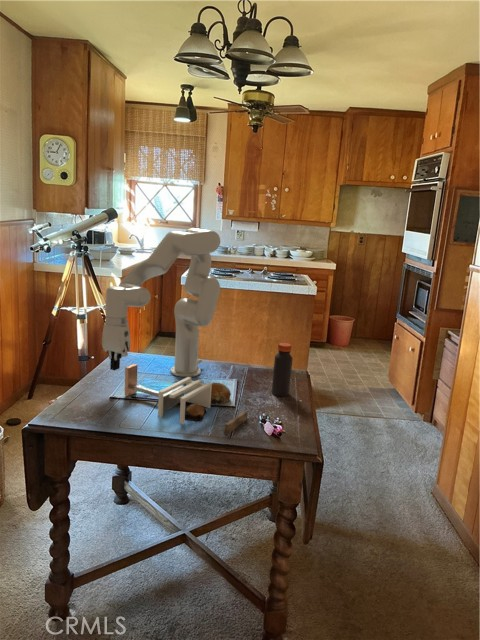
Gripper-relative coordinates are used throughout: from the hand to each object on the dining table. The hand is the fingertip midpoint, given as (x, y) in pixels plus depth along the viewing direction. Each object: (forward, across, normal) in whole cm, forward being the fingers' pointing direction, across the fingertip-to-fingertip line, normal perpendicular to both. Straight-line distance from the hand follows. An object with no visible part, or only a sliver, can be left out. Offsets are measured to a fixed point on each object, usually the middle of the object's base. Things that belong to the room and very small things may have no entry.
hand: (114, 369), depth 175 cm
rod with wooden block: (+8, -17, -1) cm, 18 cm away
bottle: (+8, -52, -37) cm, 64 cm away
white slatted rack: (+8, -32, -1) cm, 33 cm away
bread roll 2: (+8, -35, -16) cm, 39 cm away
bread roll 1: (+9, -35, -1) cm, 36 cm away
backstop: (+8, -51, -2) cm, 52 cm away
